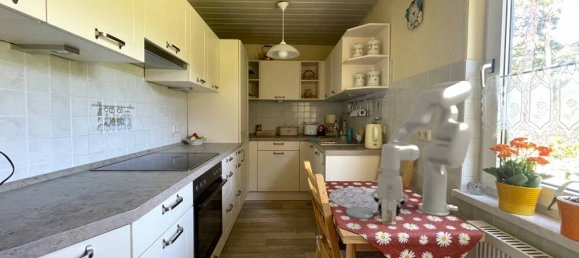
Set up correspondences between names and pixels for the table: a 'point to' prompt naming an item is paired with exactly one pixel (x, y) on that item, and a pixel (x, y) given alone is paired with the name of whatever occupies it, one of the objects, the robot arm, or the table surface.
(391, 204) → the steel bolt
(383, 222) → the clamp frame
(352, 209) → the ceramic plate
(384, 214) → the cream block
